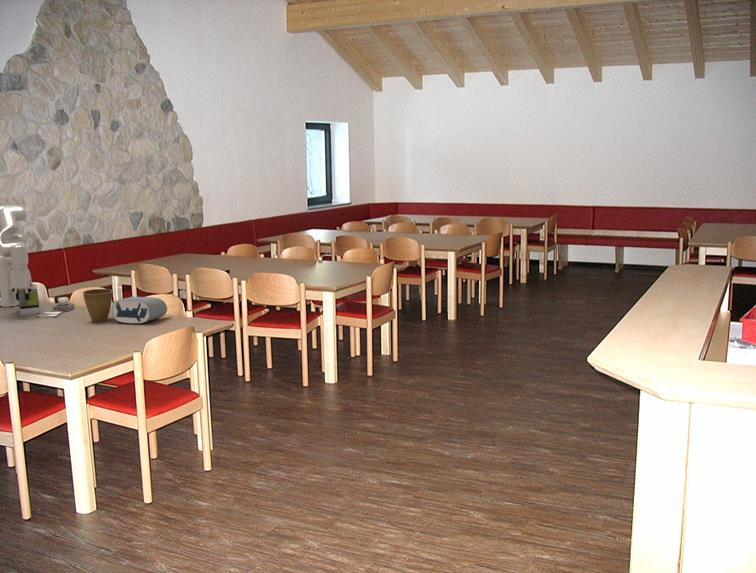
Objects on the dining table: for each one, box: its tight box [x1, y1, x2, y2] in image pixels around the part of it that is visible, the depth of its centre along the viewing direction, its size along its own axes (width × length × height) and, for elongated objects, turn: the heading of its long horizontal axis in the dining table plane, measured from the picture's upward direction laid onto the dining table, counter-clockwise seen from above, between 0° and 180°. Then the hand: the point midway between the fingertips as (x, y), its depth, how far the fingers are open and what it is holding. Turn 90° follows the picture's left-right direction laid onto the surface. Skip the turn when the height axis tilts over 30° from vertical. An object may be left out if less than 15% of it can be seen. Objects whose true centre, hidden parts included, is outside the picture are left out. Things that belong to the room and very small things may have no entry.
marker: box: [18, 288, 27, 307], centre depth 416 cm, size 4×4×11 cm
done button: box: [57, 296, 69, 306], centre depth 435 cm, size 5×5×4 cm
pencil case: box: [111, 296, 168, 324], centre depth 405 cm, size 22×19×13 cm
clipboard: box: [35, 309, 65, 319], centre depth 423 cm, size 14×11×1 cm
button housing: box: [52, 302, 75, 312], centre depth 436 cm, size 9×9×3 cm
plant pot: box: [82, 288, 113, 323], centre depth 406 cm, size 15×15×16 cm
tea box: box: [19, 283, 41, 316], centre depth 431 cm, size 15×10×15 cm, turn 25°
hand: (22, 299), depth 417 cm, fingers closed on marker, 4 cm apart
